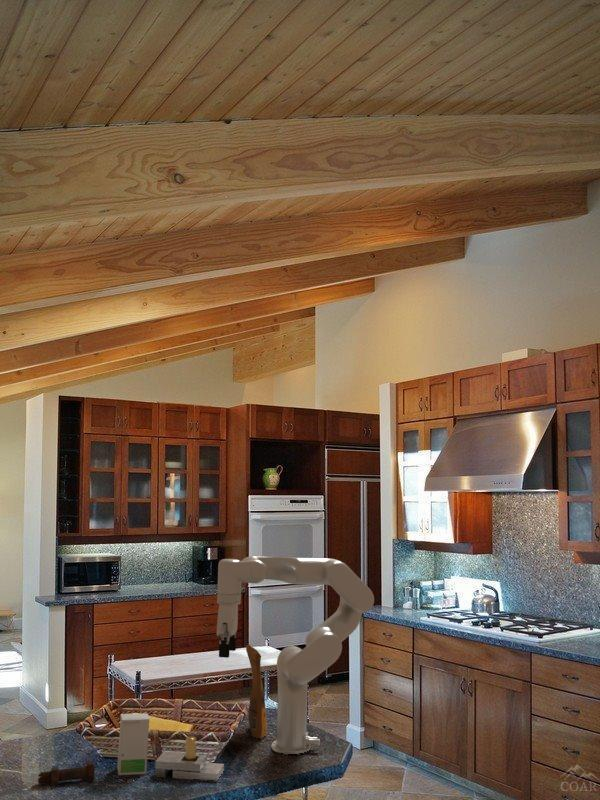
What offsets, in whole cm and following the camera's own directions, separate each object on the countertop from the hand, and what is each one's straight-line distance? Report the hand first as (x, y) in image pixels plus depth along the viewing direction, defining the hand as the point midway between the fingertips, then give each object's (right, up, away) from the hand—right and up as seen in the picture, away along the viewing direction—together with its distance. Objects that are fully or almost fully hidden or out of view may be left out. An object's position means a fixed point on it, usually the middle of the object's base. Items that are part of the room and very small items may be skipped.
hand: (227, 653), depth 255 cm
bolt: (-43, -27, -29) cm, 58 cm away
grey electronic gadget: (-9, -28, -21) cm, 36 cm away
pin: (-9, -28, -21) cm, 36 cm away
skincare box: (-26, -28, -19) cm, 43 cm away
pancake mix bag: (+8, -32, +18) cm, 38 cm away
